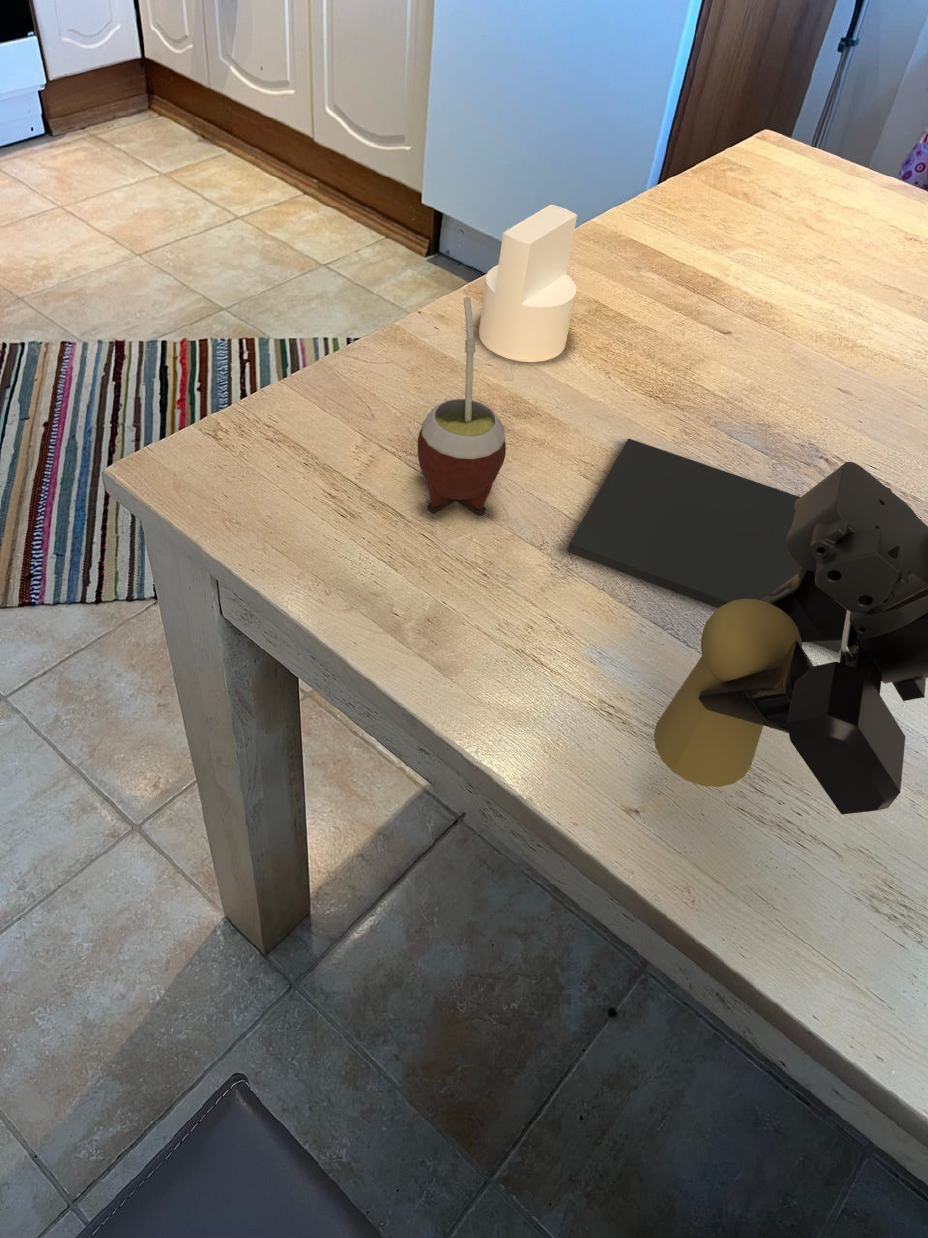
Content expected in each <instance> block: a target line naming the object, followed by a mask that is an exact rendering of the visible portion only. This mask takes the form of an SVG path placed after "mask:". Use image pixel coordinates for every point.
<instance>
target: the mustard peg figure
mask: <svg viewBox="0 0 928 1238" xmlns="http://www.w3.org/2000/svg"><path fill="white" fill-rule="evenodd" d="M796 640H797V641H798V642H799V644H800V645H801V647H802V648H803V642H802V640H801V637H800V634H799V630H798V627H797V626H796V624H795V623H794V621H793V620H792V619H791V617H789V616H788V615H787V614H786V613H785V612H784V611H782V610H781V609H779V608H778V607H776V606H774V605H772V604H770V603H767V602H764V601H760V600H757V599H739V600H733V601H731V602H729V603H727V604H725V605H723V606H721V607H719V608H716V610H715V611H714V612H713V613H712V614H711V615H710V617H709V618H708V619H707V621H706V622H705V625H704V626H703V630H702V634H701V638H700V649H701V650H700V651H701V656H700V657H699V659H698V661H697V662H696V664H695V665H694V667H692V670H691V671H690V673H689V674H688V676H687V677H686V679H685V680H684V681H683V683H682V684H681V686H680V688H679V689H678V690H677V692H676V693H675V694H674V697H673V698H672V699H671V701H670V703H669V704H668V705H667V707H666V708H665V710H664V711H663V713H662V714H661V716H660V718H658V720H657V722H656V725H655V728H654V731H653V739H654V747H655V749H656V751H657V753H658V755H659V757H660V759H661V761H662V762H663V763H664V764H665V765H666V766H667V767H668V768H669V769H670V771H671V772H673V773H674V774H676V775H677V776H679V777H680V778H682V779H684V780H685V781H687V782H690V783H693V784H696V785H699V786H702V787H713V788H720V787H725V786H729V785H733V784H735V783H736V782H738V781H740V780H741V779H743V778H744V777H745V776H746V774H747V773H748V772H749V770H750V768H751V767H752V764H753V762H754V761H753V760H754V758H755V754H756V751H757V747H758V745H759V741H760V737H761V734H762V731H763V728H764V726H763V725H759V724H756V723H752V722H749V721H745V720H741V719H738V718H734V717H731V716H727V715H723V714H720V713H716V712H713V711H709V710H707V709H705V708H704V706H703V705H702V704H701V702H700V701H699V699H698V696H699V693H700V692H701V691H703V690H705V689H708V688H710V687H713V686H715V685H718V684H721V683H724V682H727V681H731V680H734V679H737V678H741V677H744V676H748V675H751V674H754V673H758V672H761V671H765V670H768V669H771V668H775V667H778V666H779V665H780V664H781V663H782V661H783V660H784V658H785V656H786V654H787V653H788V651H789V649H790V647H791V645H792V644H793V642H794V641H796Z"/></svg>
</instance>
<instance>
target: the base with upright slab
mask: <svg viewBox="0 0 928 1238" xmlns="http://www.w3.org/2000/svg"><path fill="white" fill-rule="evenodd" d="M577 219H578V214H577V213H575V212H573V211H571V210H569V209H567V208H565V207H561V206H558V205H555V204H549V205H548V206H545V207H544V208H542V209H540V210H538V211H536V212H535V213H534V214H532V215H530V216H528V217H527V218H525V219H523V220H522V221H520V222H518V223H517V224H515V225H513V226H511V227H510V228H508V229H506V230H505V231H503V232H502V238H501V246H500V253H499V260H498V264H497V265H495V266H493V267H491V269H489V270H488V271H487V273H486V275H485V281H484V289H483V296H482V304H481V312H480V320H479V327H478V335H479V336H478V337H479V339H480V341H481V343H482V345H483V346H485V348H487V349H488V350H489V351H491V352H493V353H494V354H496V355H498V356H500V357H502V358H505V359H508V360H512V361H516V362H517V361H518V362H524V363H525V362H527V363H535V362H537V363H538V362H544V361H549V360H553V359H554V358H556V357H557V356H559V355H560V354H561V353H562V352H563V351H564V350H565V347H566V345H567V344H566V343H567V340H568V333H569V329H570V324H571V319H572V314H573V310H574V305H575V299H576V295H577V285H576V282H575V281H574V280H573V278H572V277H571V276H569V275H568V274H567V271H568V266H569V261H570V256H571V250H572V244H573V240H574V235H575V228H576V224H577Z"/></svg>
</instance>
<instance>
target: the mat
mask: <svg viewBox="0 0 928 1238" xmlns="http://www.w3.org/2000/svg"><path fill="white" fill-rule="evenodd" d="M800 497H801V496H799V495H795V494H794V493H790V492H787V491H784V490H781V489H778V488H775V487H773V486H770V485H766V484H763V483H762V482H761V483H760V482H758V481H754V480H752V479H749V478H746V477H742V476H740V475H737V474H734V473H731V472H728V471H726V470H723V469H720V468H717V467H713V466H711V465H707V464H704V463H702V462H699V461H697V460H693V459H690V458H688V457H684V456H681V455H679V454H676V453H673V452H670V451H667V450H664V449H661V448H658V447H655V446H652V445H649V444H646V443H643V442H640V441H637V440H635V439H632V438H627V440H626V441H625V444H623V447H622V449H621V451H620V452H619V454H618V456H617V458H616V459H615V462H614V463H613V465H612V467H611V469H610V470H609V472H608V474H607V476H606V478H605V479H604V482H603V483H602V485H601V487H600V488H599V490H598V492H597V494H596V495H595V497H594V499H593V501H592V502H591V504H590V507H589V508H588V510H587V512H586V513H585V515H584V517H583V519H582V521H580V524H579V526H578V528H577V530H576V532H575V533H574V535H573V537H572V538H571V541H570V542H569V545H568V549H567V553H570V554H573V555H575V556H577V557H581V558H583V559H586V560H589V561H590V562H593V563H595V564H599V565H602V566H605V567H607V568H610V569H613V570H616V571H618V572H621V573H623V574H626V575H629V576H631V577H634V578H637V579H639V580H643V581H645V582H647V583H650V584H653V585H656V586H658V587H661V588H664V589H666V590H669V591H672V592H675V593H677V594H679V595H683V596H684V597H688V598H690V599H693V600H696V601H698V602H701V603H704V604H707V605H709V606H712V607H715V608H716V609H718V608H719V607H721V606H723V605H725V604H727V603H729V602H731V601H733V600H739V599H757V600H761V599H762V598H764V597H765V596H768V594H770V593H771V592H773V591H774V590H776V589H777V588H779V587H780V586H782V585H783V584H784V583H786V582H787V581H788V580H790V579H791V578H792V577H794V576H795V575H796V574H798V573H799V572H800V570H801V569H802V567H801V566H800V565H799V564H797V563H796V562H795V561H794V560H793V558H792V557H791V556H790V554H789V552H788V550H787V547H786V537H787V534H788V532H789V531H790V529H791V527H792V523H793V519H794V515H795V511H796V510H794V505H795V502H796V500H797V499H799V498H800ZM810 643H812V644H814V645H816V646H819V647H822V648H824V649H827V650H831V651H833V652H835V653H840V652H841V650H842V649H841V643H842V640H839V641H819V642H810Z"/></svg>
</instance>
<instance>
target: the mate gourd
mask: <svg viewBox="0 0 928 1238" xmlns="http://www.w3.org/2000/svg"><path fill="white" fill-rule="evenodd" d="M463 306H464V318H465V330H466V331H465V332H466V339H464V353H465V354H466V355H465V356H466V357H465V359H466V360H465V394H464V398H455V399H454V398H453V399H448V400H445V401H443V402H440V403H439V404H437V405H436V406H434V407H433V408H432V409H431V410H430V411H429V413H428V414H427V415H426V417H425V418H424V420H423V421H422V422H421V428H420V430H419V433H418V437H417V459H418V463H419V468H420V470H421V473H422V476H423V477H424V479H425V480H426V482H427V484H428V491H429V496H430V501H431V502H430V503H429V504H427V511H428V512H429V513H431V514H433V515H435V514H436V513H439V512H440V511H442V510H443V509H445V508H446V507H448V506H450V505H451V504H453V503H455V502H456V503H458V504H460V505H462V506H463V507H464V508H466V509H467V510H469V511H470V512H472V513H473V514H475V515H476V516H478V517H482V516H483V515H485V514H486V511H487V508H486V507H485V506H484V504H485V502H486V501H487V499H488V497H489V495H490V493H491V489H492V486H493V483H494V482H495V481H496V479H497V477H498V475H499V473H500V471H501V469H502V467H503V465H504V462H505V458H506V451H507V446H506V445H507V444H506V433H505V426H504V424H503V422H502V420H501V419H500V418H499V417H498V415H497V413H495V411H494V409H492V408H491V407H490V406H488V405H487V404H484V403H483V402H480V401H477V400H474V399H473V384H474V381H473V379H474V353H476V339H475V334H474V333H475V332H474V320H473V310H472V300H471V297H469V296H465V297H463Z"/></svg>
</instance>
